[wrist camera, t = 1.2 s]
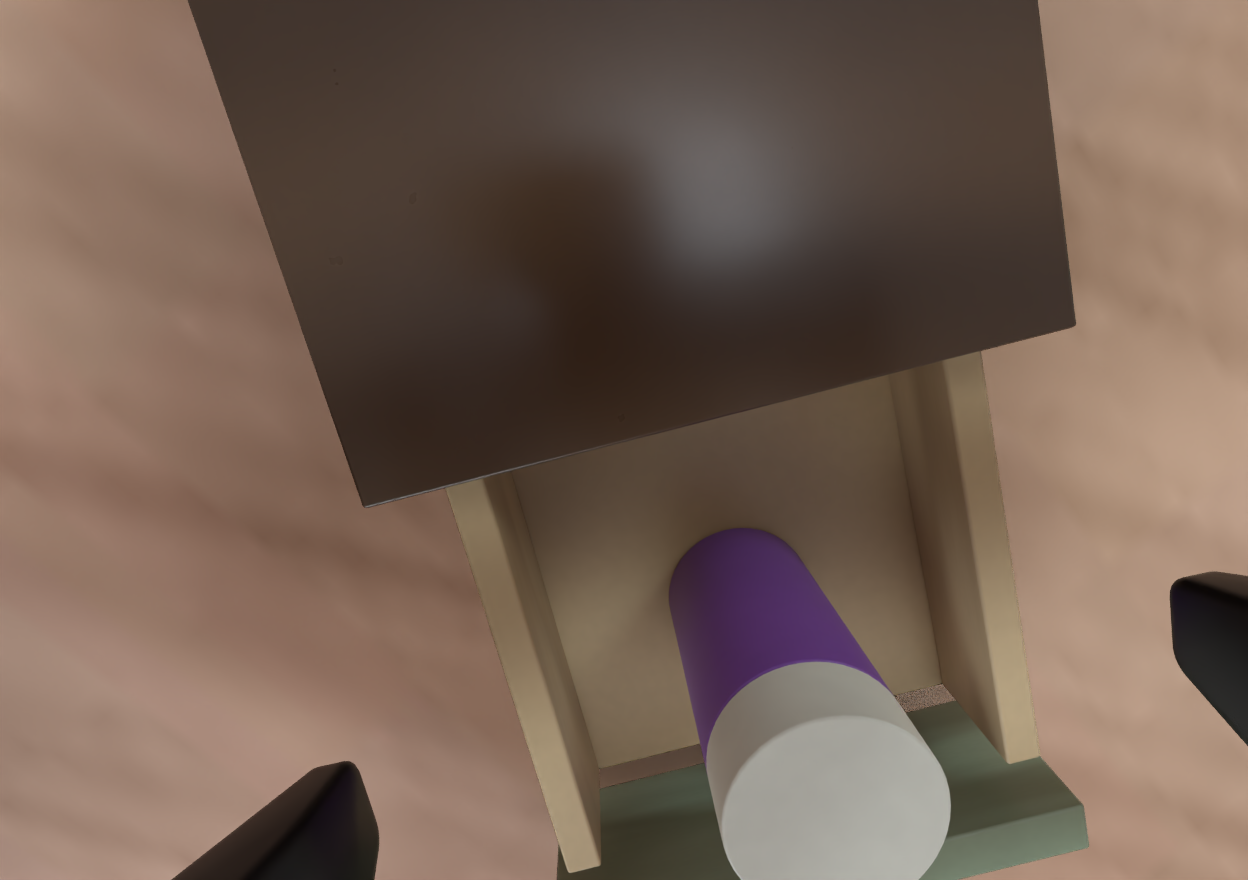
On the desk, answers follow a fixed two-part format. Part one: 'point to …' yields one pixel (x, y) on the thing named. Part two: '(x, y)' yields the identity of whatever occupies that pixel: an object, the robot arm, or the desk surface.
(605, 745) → the drawer
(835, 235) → the cabinet
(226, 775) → the desk surface
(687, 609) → the glue stick
